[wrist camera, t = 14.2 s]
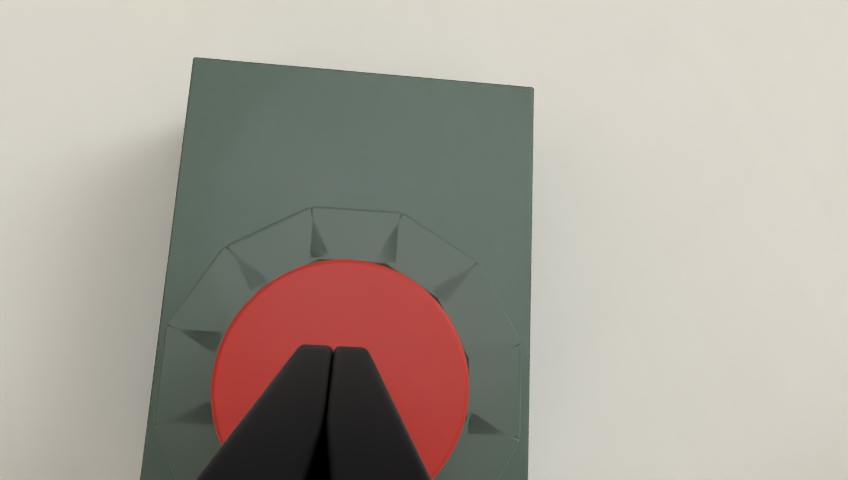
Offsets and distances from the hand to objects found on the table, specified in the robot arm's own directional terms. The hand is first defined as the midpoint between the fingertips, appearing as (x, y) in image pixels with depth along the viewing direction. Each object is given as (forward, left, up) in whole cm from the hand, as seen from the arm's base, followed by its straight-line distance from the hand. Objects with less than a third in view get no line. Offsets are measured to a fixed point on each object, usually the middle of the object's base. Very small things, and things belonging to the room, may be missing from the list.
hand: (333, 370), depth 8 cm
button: (0, 0, -5) cm, 6 cm away
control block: (+1, -2, -11) cm, 11 cm away
